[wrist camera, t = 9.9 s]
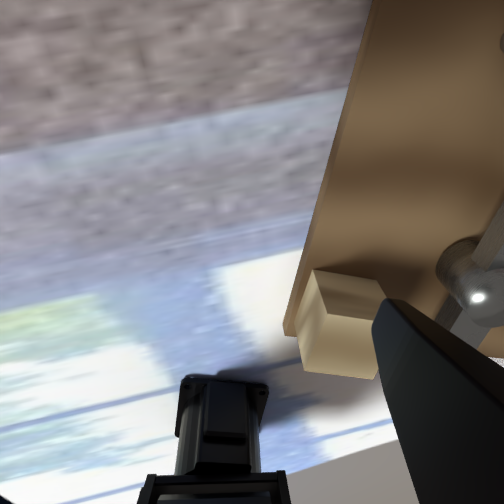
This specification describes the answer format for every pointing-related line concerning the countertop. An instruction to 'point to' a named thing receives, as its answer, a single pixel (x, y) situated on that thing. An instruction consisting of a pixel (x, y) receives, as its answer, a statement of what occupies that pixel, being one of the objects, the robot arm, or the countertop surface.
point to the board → (413, 153)
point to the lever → (474, 284)
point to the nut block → (338, 324)
